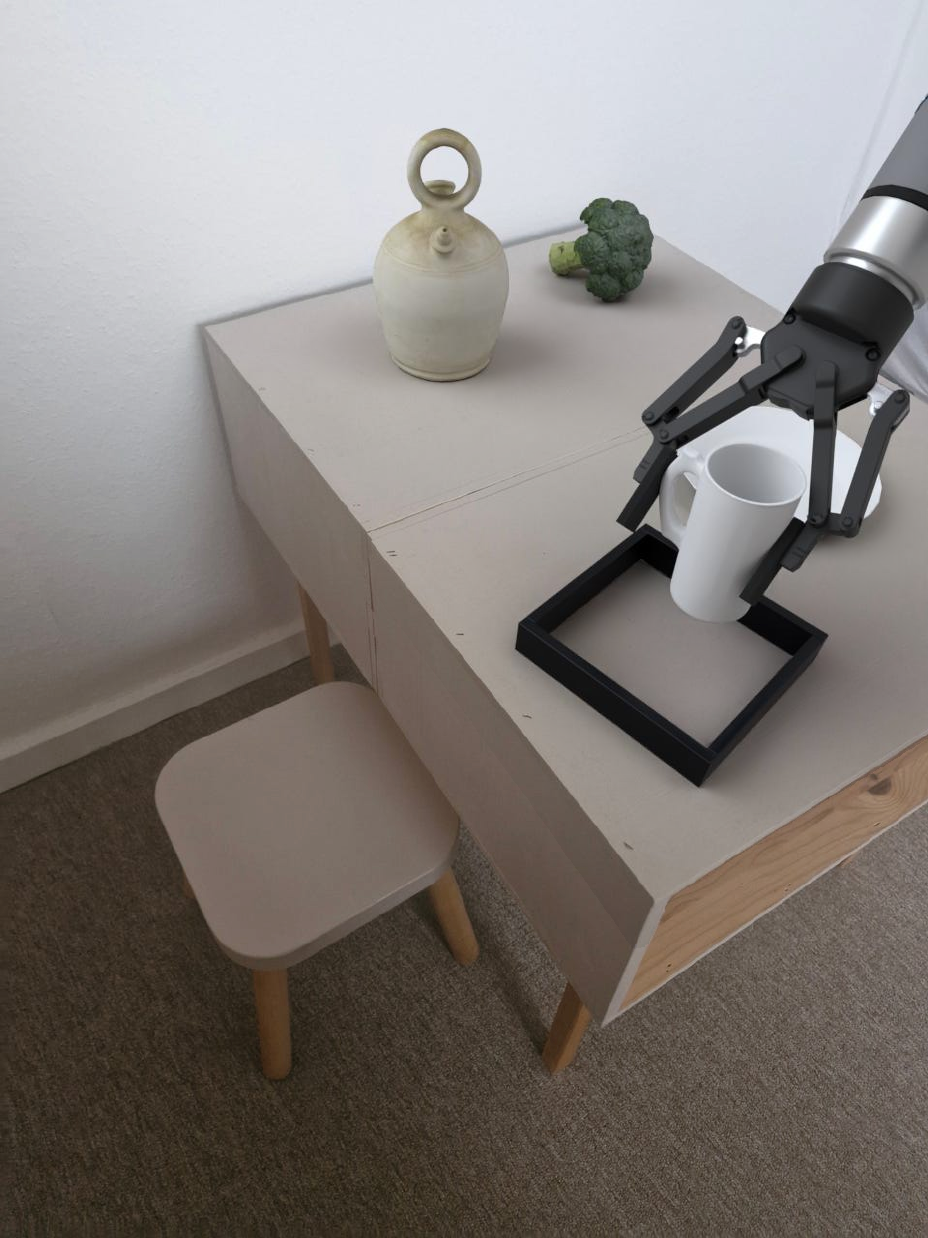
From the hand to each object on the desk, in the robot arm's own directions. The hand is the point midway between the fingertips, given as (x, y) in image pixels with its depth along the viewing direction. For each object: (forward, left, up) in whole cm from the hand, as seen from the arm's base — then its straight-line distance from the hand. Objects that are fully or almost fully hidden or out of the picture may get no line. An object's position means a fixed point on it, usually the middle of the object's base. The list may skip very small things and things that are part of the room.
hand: (683, 563), depth 62 cm
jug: (+47, -22, -13) cm, 54 cm away
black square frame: (0, -3, -13) cm, 14 cm away
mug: (0, -3, -4) cm, 5 cm away
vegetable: (+45, -50, -13) cm, 69 cm away
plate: (+6, -31, -13) cm, 34 cm away
